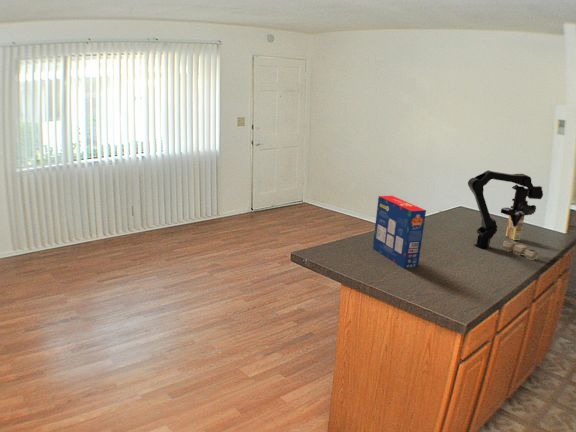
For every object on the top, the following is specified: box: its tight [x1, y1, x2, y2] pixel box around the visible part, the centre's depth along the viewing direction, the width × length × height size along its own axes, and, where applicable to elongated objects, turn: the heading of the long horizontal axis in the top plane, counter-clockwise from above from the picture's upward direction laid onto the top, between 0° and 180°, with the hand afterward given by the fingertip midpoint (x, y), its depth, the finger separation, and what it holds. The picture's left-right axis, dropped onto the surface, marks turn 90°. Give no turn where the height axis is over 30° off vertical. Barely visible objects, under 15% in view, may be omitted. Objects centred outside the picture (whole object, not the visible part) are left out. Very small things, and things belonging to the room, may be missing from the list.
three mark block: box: [523, 248, 540, 259], centre depth 263 cm, size 4×4×5 cm
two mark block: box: [502, 239, 517, 252], centre depth 275 cm, size 4×4×5 cm
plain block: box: [512, 244, 528, 255], centre depth 269 cm, size 4×4×4 cm
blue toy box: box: [372, 195, 427, 269], centre depth 249 cm, size 28×8×28 cm, turn 22°
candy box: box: [505, 215, 525, 241], centre depth 294 cm, size 9×4×15 cm, turn 9°
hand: (514, 226), depth 275 cm, fingers closed
